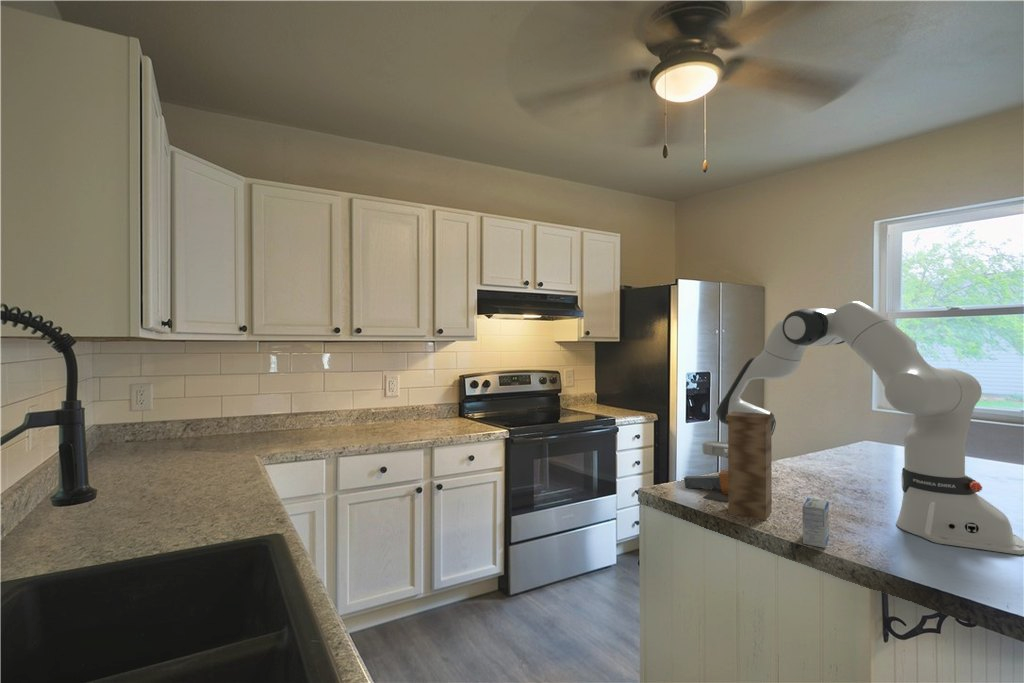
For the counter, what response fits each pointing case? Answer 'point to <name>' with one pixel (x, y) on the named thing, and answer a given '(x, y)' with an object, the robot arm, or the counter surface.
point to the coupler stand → (749, 464)
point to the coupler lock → (708, 481)
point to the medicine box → (815, 522)
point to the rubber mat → (717, 495)
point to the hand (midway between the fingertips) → (730, 455)
